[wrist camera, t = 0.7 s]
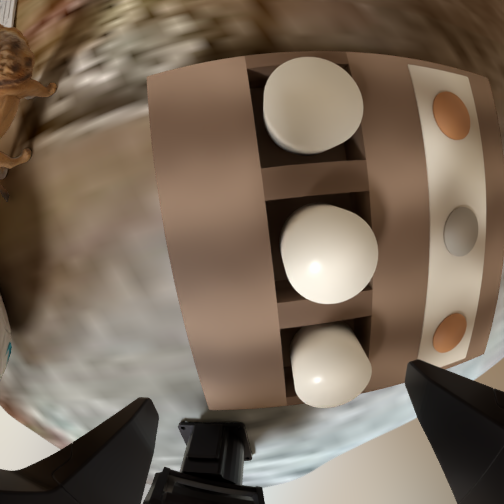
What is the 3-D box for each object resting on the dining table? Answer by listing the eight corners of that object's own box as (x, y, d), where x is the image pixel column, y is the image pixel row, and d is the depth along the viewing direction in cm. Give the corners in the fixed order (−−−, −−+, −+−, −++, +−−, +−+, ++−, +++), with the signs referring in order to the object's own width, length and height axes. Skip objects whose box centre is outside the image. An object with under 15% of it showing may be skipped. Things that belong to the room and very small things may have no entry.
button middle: (356, 274, 16) (377, 296, 13) (283, 283, 16) (288, 309, 13) (352, 199, 15) (376, 204, 12) (274, 206, 15) (279, 214, 12)
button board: (457, 329, 20) (485, 355, 15) (217, 372, 22) (208, 412, 17) (454, 89, 15) (490, 76, 11) (171, 97, 17) (144, 75, 12)
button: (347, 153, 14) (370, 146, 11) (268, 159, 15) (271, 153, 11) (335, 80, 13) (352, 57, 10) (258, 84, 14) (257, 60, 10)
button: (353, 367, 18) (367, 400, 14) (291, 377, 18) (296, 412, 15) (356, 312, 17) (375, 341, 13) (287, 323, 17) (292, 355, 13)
